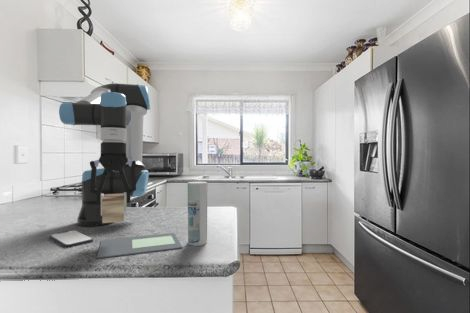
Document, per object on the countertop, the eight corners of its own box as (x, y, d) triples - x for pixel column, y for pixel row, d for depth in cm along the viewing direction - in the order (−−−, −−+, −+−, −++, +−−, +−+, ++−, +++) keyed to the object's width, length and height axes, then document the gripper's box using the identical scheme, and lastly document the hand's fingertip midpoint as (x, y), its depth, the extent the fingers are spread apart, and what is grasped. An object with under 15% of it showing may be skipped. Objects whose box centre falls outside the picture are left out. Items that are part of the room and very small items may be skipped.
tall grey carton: (183, 242, 91) (183, 182, 90) (198, 238, 95) (198, 181, 95) (196, 247, 86) (196, 183, 86) (211, 242, 91) (211, 182, 91)
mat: (101, 241, 92) (101, 239, 92) (173, 233, 101) (173, 232, 101) (96, 258, 76) (96, 257, 76) (182, 248, 85) (182, 246, 85)
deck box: (104, 215, 92) (104, 194, 91) (124, 214, 94) (124, 193, 94) (102, 223, 82) (102, 199, 82) (123, 221, 84) (123, 198, 84)
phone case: (94, 243, 92) (75, 233, 102) (94, 238, 92) (75, 229, 102) (65, 250, 85) (47, 239, 95) (65, 245, 85) (47, 234, 95)
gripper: (77, 140, 81) (78, 219, 81) (145, 141, 87) (145, 214, 88) (81, 141, 88) (82, 213, 88) (144, 142, 94) (144, 209, 95)
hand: (114, 213), depth 88 cm, fingers closed on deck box, 6 cm apart
